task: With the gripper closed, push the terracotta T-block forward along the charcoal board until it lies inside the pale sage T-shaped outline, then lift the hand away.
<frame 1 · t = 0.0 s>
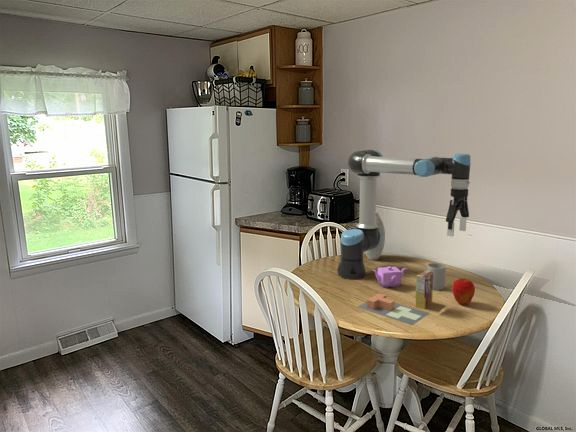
hand: (456, 233, 208), 28 cm above the table, fingers open, 13 cm apart
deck: (392, 312, 190), on the table
candy box: (423, 307, 195), on the table
t block: (376, 305, 195), point 1 cm above the table, touching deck
apple: (462, 303, 198), on the table
vase: (373, 258, 265), on the table
teapot: (389, 286, 220), on the table
mug: (433, 286, 219), on the table
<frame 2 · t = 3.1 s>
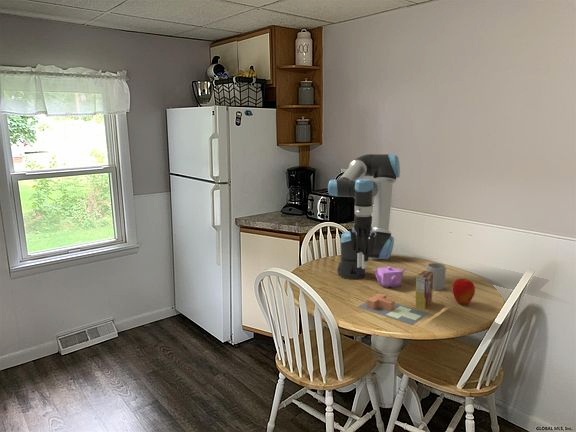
hand: (361, 267, 197), 16 cm above the table, fingers closed
nothing on the table moved.
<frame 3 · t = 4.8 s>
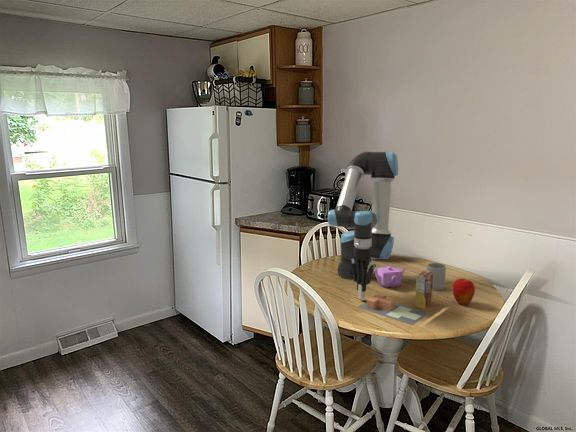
hand: (361, 297, 200), 2 cm above the table, fingers closed
nothing on the table moved.
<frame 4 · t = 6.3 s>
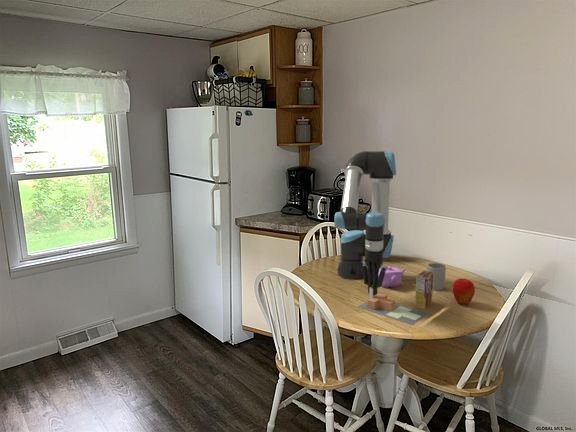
hand: (372, 301, 196), 2 cm above the table, fingers closed
t block: (377, 305, 194), point 1 cm above the table, touching gripper
everything else where it was.
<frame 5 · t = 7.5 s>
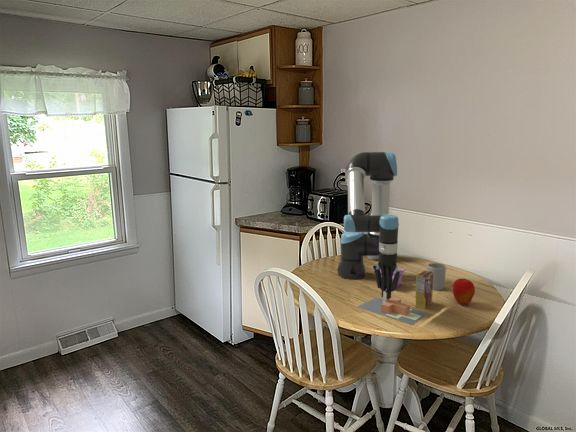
hand: (385, 305, 191), 2 cm above the table, fingers closed
t block: (391, 309, 190), point 1 cm above the table, touching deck, gripper
everything else where it was.
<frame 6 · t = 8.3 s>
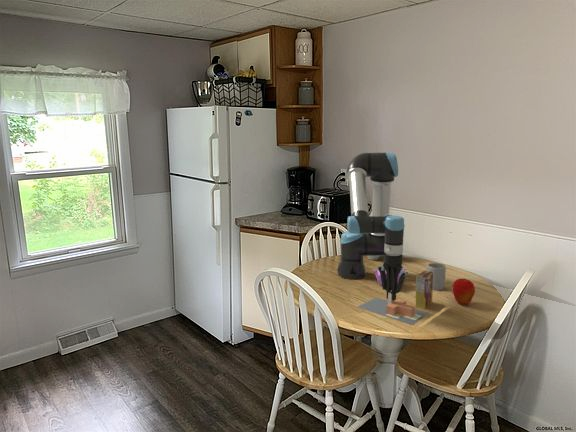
hand: (390, 306, 190), 2 cm above the table, fingers closed
t block: (396, 311, 188), point 1 cm above the table, touching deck, gripper
everything else where it was.
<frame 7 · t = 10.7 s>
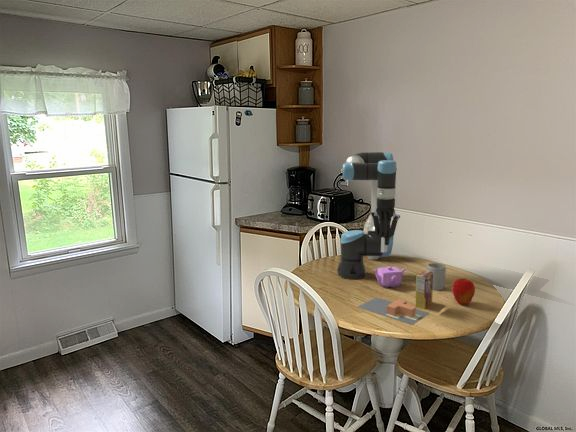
hand: (383, 251, 192), 24 cm above the table, fingers closed
t block: (396, 311, 188), point 1 cm above the table, touching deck
everything else where it was.
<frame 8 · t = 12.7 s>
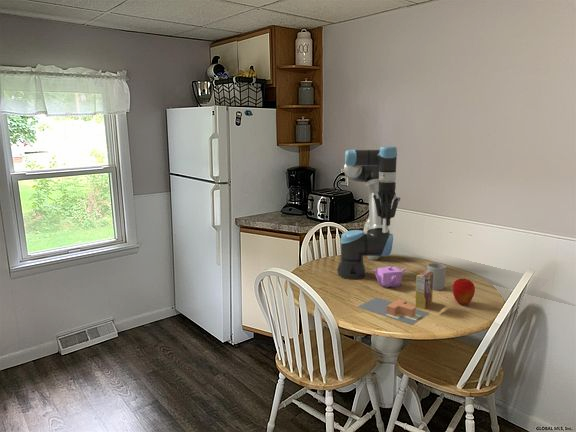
hand: (385, 232, 206), 29 cm above the table, fingers closed
nothing on the table moved.
at the end: t block 1.2 cm from the target spot on the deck, point 1.0 cm above the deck's base; t block tilted 0° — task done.
